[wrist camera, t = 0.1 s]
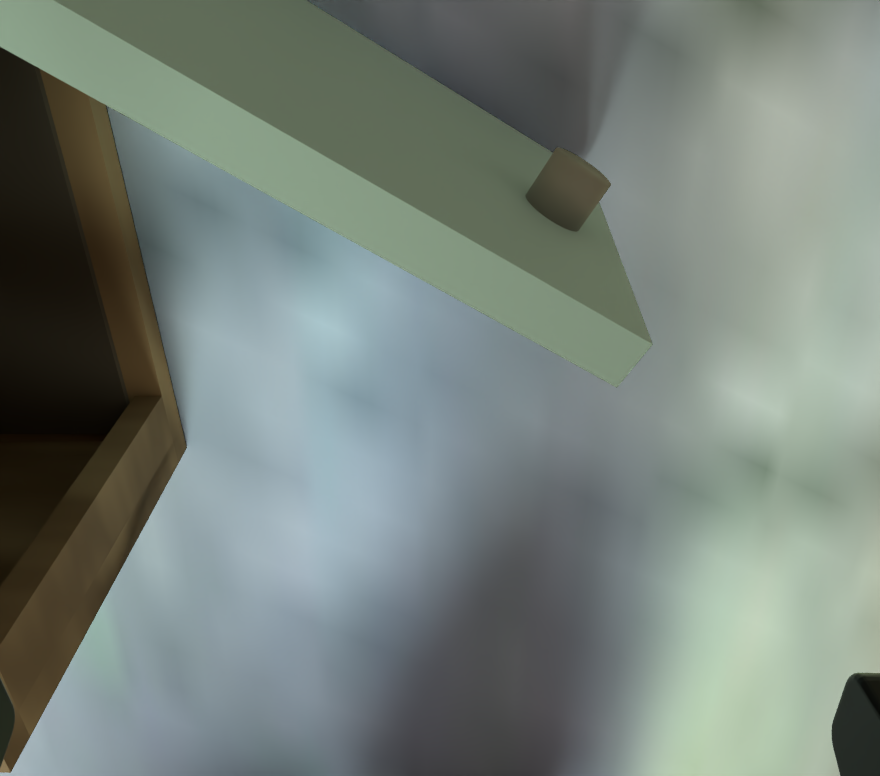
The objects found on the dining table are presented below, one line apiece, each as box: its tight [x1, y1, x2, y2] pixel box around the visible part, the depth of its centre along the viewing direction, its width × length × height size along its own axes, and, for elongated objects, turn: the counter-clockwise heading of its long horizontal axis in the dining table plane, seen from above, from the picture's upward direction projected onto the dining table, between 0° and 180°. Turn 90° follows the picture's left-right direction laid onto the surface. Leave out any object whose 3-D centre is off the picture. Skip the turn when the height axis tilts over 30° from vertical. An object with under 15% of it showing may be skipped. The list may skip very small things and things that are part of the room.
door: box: [0, 0, 652, 387], centre depth 15 cm, size 13×2×9 cm, turn 60°
